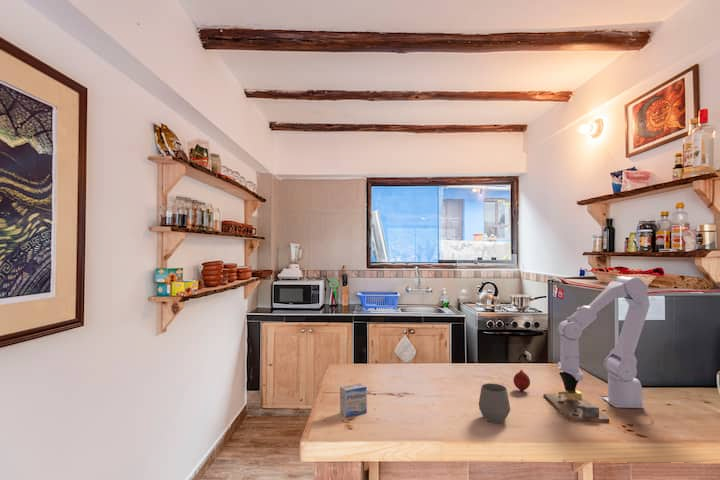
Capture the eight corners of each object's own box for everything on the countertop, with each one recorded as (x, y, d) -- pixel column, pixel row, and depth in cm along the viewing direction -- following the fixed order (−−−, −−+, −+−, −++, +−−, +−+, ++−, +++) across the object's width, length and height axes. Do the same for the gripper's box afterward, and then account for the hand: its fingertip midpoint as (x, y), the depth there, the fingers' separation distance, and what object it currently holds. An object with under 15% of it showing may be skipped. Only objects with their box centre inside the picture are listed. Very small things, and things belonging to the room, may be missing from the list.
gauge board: (577, 397, 140) (577, 386, 141) (609, 422, 120) (609, 409, 121) (543, 396, 141) (543, 385, 141) (569, 421, 121) (569, 408, 121)
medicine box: (345, 418, 124) (345, 390, 124) (339, 412, 128) (339, 386, 128) (367, 413, 128) (367, 386, 128) (360, 408, 132) (360, 382, 132)
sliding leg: (577, 397, 135) (577, 390, 135) (581, 400, 132) (581, 393, 132) (556, 396, 136) (556, 389, 136) (560, 400, 133) (560, 392, 133)
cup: (506, 428, 116) (506, 395, 117) (475, 421, 121) (475, 389, 122) (512, 417, 124) (512, 385, 125) (483, 410, 129) (483, 380, 130)
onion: (531, 394, 143) (531, 372, 143) (515, 393, 144) (515, 371, 145) (528, 388, 149) (528, 367, 149) (512, 387, 150) (512, 366, 150)
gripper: (549, 349, 144) (549, 386, 144) (567, 361, 130) (567, 402, 130) (568, 350, 144) (569, 386, 144) (589, 361, 130) (589, 402, 129)
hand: (570, 394), depth 137 cm, fingers closed
